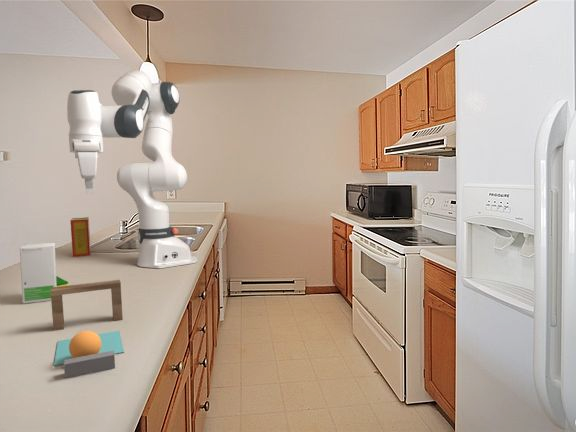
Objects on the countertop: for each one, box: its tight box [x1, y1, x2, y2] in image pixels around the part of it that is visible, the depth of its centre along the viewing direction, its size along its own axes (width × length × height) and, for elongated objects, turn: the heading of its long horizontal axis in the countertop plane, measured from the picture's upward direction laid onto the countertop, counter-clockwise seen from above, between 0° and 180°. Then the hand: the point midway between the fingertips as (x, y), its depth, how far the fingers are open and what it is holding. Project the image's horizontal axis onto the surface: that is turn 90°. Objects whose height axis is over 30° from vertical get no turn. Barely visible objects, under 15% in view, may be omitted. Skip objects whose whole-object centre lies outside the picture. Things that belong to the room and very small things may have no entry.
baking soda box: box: [70, 216, 92, 258], centre depth 176 cm, size 10×6×16 cm
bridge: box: [50, 279, 124, 331], centre depth 95 cm, size 3×14×9 cm, turn 117°
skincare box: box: [19, 242, 57, 305], centre depth 114 cm, size 8×7×16 cm
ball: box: [69, 330, 101, 358], centre depth 77 cm, size 6×6×6 cm
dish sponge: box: [56, 275, 69, 287], centre depth 127 cm, size 7×14×2 cm, turn 46°
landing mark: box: [53, 330, 125, 367], centre depth 83 cm, size 12×12×1 cm
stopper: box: [63, 351, 116, 379], centre depth 73 cm, size 8×2×2 cm, turn 117°
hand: (89, 194), depth 119 cm, fingers closed
